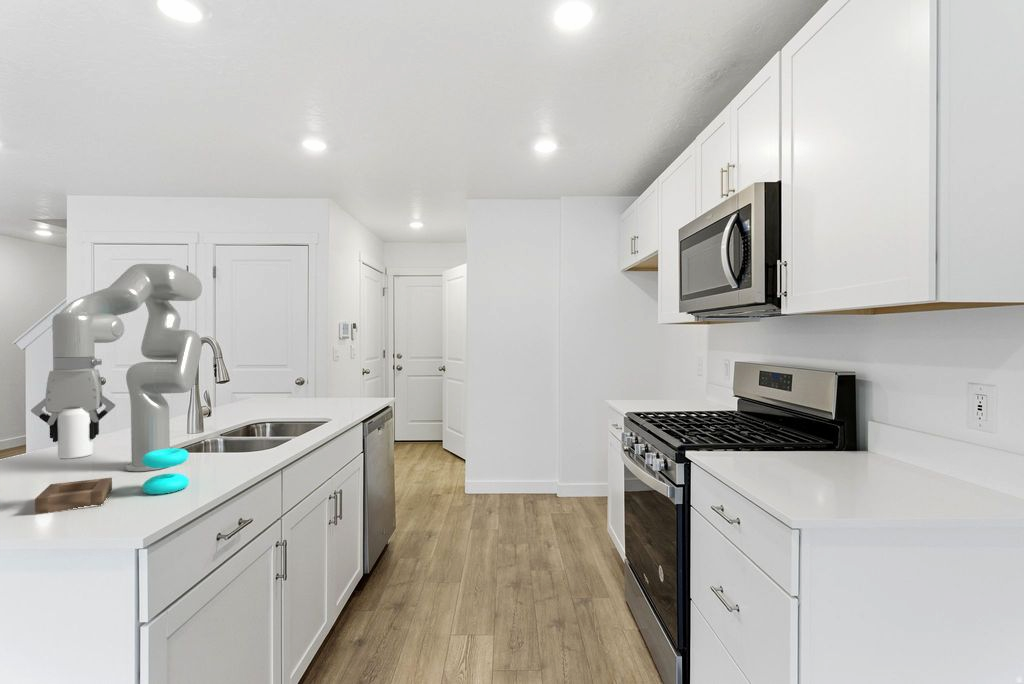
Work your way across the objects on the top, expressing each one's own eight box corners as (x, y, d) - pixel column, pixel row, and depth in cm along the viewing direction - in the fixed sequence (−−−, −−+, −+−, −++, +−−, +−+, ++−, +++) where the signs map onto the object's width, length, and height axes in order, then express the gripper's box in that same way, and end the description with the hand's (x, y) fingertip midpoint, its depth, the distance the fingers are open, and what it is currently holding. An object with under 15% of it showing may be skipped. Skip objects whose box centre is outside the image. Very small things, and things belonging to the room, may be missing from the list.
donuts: (183, 454, 131) (136, 457, 127) (184, 493, 131) (137, 498, 128) (192, 446, 140) (148, 448, 137) (192, 482, 141) (149, 486, 137)
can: (71, 453, 127) (70, 404, 127) (99, 453, 128) (99, 404, 127) (50, 460, 121) (49, 408, 120) (80, 459, 121) (79, 408, 121)
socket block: (112, 490, 133) (111, 477, 133) (102, 505, 122) (102, 491, 122) (50, 498, 127) (50, 484, 127) (35, 514, 116) (34, 499, 116)
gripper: (121, 362, 131) (122, 433, 131) (30, 364, 123) (32, 440, 123) (116, 364, 125) (117, 438, 125) (20, 366, 116) (21, 446, 116)
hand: (74, 438), depth 124 cm, fingers closed on can, 6 cm apart
